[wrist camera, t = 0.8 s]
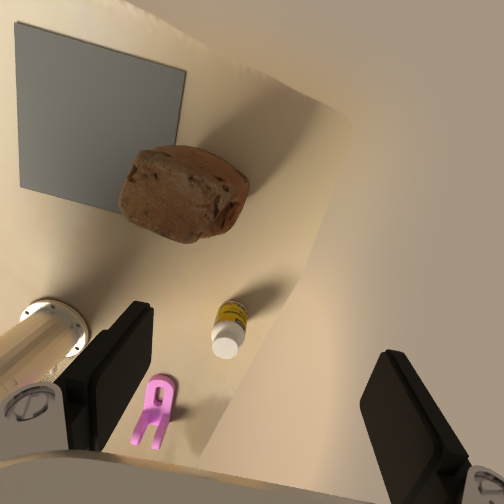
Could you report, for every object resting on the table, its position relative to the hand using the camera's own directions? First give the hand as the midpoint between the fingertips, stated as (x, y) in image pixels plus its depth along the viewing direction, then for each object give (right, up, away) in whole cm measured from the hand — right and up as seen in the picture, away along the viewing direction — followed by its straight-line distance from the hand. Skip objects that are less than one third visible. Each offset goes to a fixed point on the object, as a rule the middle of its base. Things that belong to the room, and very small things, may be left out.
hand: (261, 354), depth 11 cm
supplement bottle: (-4, -7, +39) cm, 40 cm away
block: (-6, +15, +31) cm, 35 cm away
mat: (-23, +22, +30) cm, 44 cm away
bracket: (-20, -27, +48) cm, 58 cm away
